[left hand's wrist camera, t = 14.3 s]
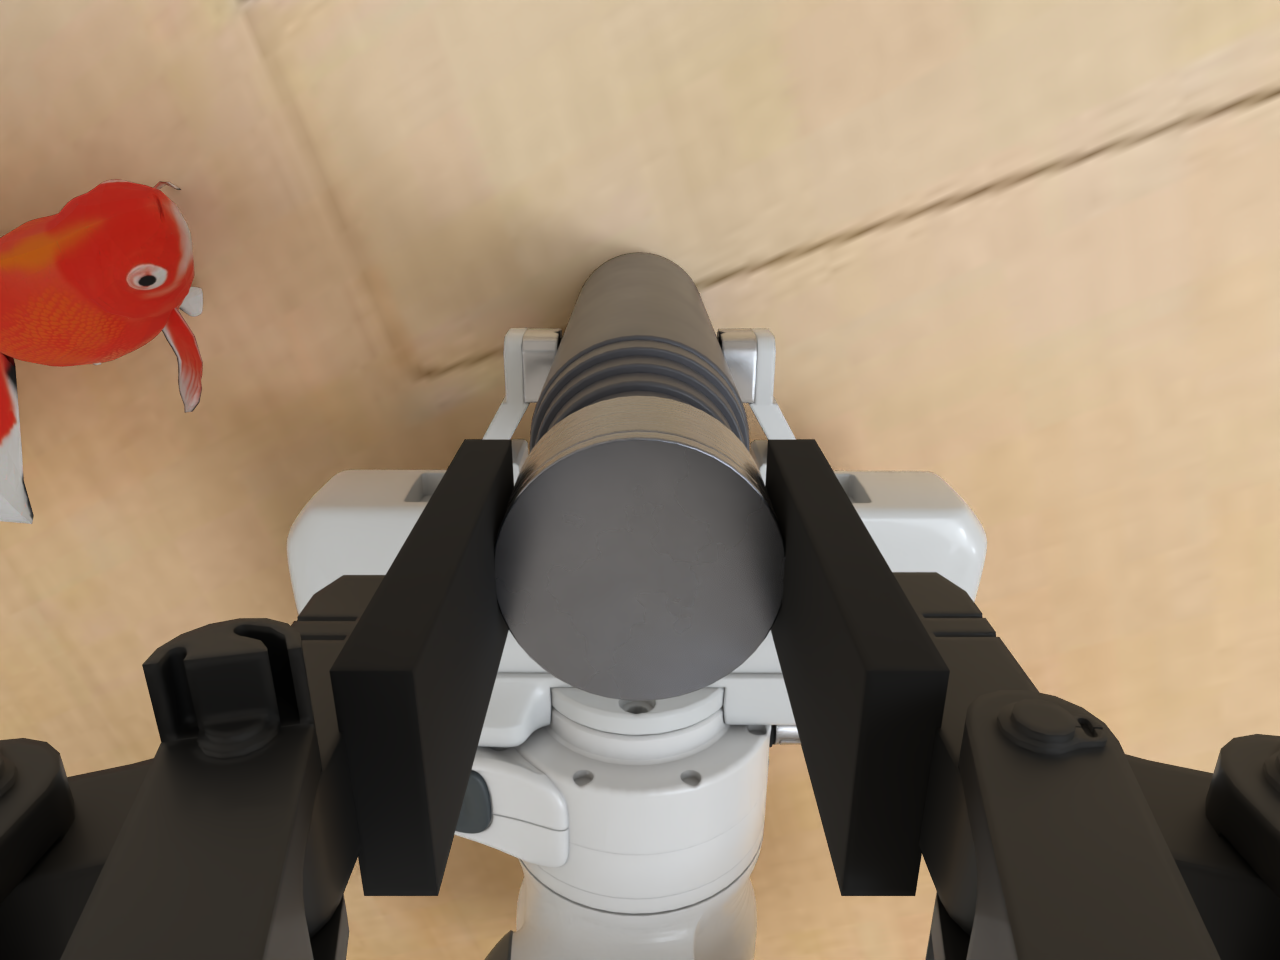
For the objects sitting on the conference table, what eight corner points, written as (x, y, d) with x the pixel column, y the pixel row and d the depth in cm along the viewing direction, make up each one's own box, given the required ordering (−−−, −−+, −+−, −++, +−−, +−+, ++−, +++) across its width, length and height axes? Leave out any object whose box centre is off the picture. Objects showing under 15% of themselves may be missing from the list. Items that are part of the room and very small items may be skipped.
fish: (339, 493, 28) (-17, 540, 19) (69, 514, 35) (-275, 555, 26) (300, 153, 27) (-85, 40, 18) (34, 249, 35) (-328, 201, 26)
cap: (458, 500, 14) (429, 558, 12) (660, 340, 13) (664, 375, 11) (622, 670, 15) (620, 748, 13) (817, 535, 14) (846, 597, 12)
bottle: (549, 308, 30) (421, 544, 13) (649, 224, 29) (664, 352, 12) (630, 404, 32) (618, 742, 14) (729, 327, 31) (853, 585, 13)
